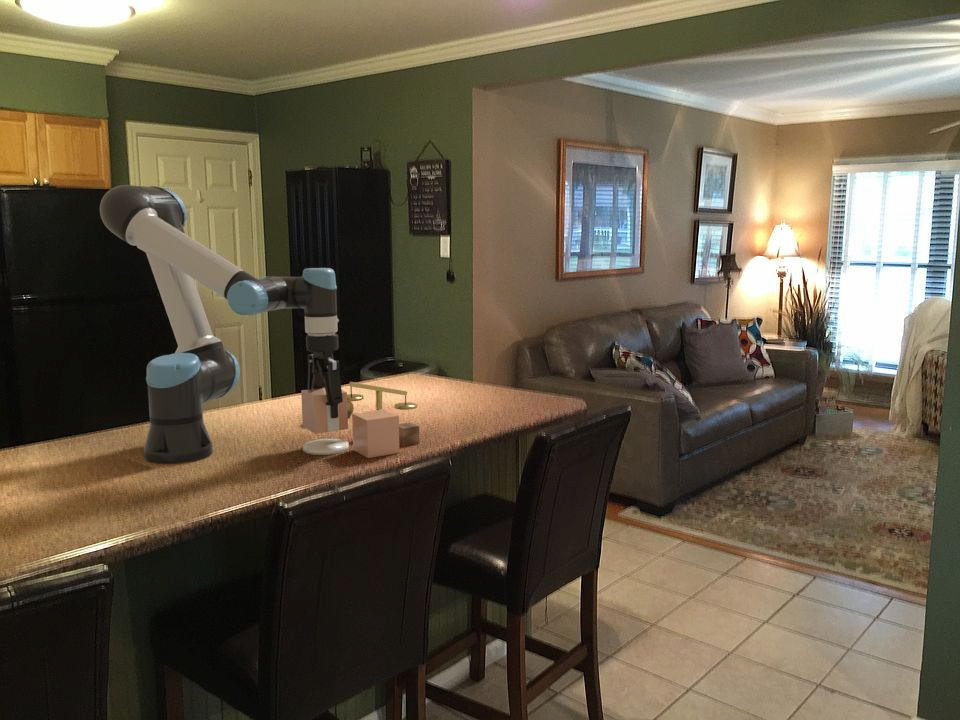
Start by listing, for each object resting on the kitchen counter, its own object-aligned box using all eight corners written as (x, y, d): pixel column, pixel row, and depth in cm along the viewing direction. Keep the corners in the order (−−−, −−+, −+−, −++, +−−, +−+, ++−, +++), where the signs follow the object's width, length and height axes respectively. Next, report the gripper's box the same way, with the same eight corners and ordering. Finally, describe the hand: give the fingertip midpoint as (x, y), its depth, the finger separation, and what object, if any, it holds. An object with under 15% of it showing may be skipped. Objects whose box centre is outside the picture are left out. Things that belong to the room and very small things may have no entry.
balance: (346, 442, 200) (344, 385, 198) (336, 437, 205) (334, 381, 202) (421, 430, 212) (420, 376, 209) (410, 426, 217) (409, 373, 214)
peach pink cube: (315, 433, 188) (314, 396, 187) (302, 426, 195) (301, 390, 194) (348, 428, 193) (346, 392, 191) (334, 422, 199) (333, 386, 198)
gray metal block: (403, 446, 197) (403, 428, 196) (394, 442, 201) (394, 424, 200) (419, 443, 200) (419, 425, 199) (410, 439, 203) (410, 422, 203)
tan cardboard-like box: (368, 458, 187) (367, 420, 185) (353, 450, 194) (352, 413, 192) (399, 452, 191) (398, 415, 190) (383, 445, 198) (382, 409, 196)
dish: (313, 457, 187) (313, 453, 187) (295, 447, 196) (295, 443, 196) (356, 450, 193) (356, 446, 193) (337, 440, 202) (337, 436, 202)
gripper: (355, 337, 184) (358, 433, 187) (319, 328, 201) (323, 416, 205) (324, 339, 180) (328, 438, 183) (290, 330, 197) (295, 421, 201)
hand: (326, 427), depth 194 cm, fingers closed on peach pink cube, 8 cm apart
